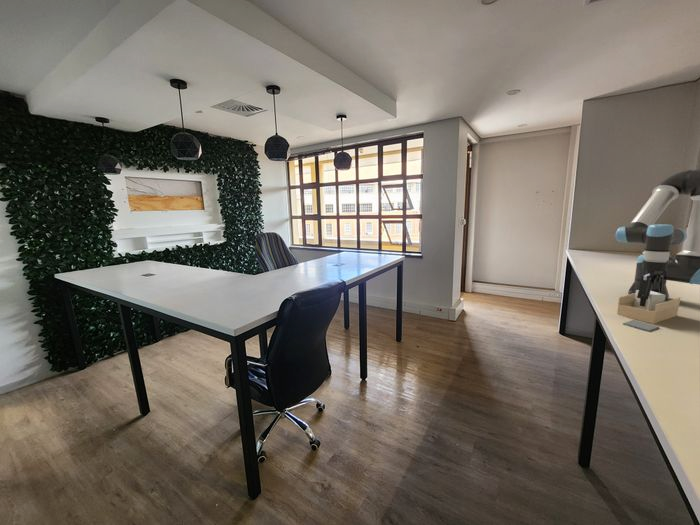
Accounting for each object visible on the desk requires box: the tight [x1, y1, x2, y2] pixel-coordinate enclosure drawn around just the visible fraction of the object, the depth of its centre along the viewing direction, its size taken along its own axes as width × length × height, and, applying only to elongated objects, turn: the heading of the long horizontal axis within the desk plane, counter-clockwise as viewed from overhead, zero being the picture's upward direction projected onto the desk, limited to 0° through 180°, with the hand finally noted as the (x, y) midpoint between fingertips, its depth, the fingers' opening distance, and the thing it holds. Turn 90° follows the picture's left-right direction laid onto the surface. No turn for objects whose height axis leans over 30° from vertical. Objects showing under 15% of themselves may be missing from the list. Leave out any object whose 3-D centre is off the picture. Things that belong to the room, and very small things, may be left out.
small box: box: [634, 290, 666, 312], centre depth 127 cm, size 8×6×10 cm
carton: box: [616, 293, 681, 325], centre depth 127 cm, size 21×12×8 cm, turn 114°
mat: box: [622, 319, 660, 333], centre depth 116 cm, size 8×8×1 cm
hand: (647, 311), depth 128 cm, fingers open, 8 cm apart
